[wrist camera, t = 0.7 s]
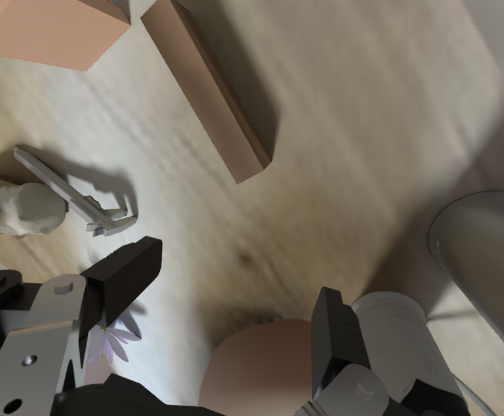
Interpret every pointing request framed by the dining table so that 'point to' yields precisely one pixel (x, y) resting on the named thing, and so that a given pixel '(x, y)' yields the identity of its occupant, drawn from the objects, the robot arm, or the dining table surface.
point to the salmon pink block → (60, 31)
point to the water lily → (107, 344)
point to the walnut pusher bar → (206, 87)
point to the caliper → (78, 199)
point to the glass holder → (410, 356)
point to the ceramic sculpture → (29, 208)
